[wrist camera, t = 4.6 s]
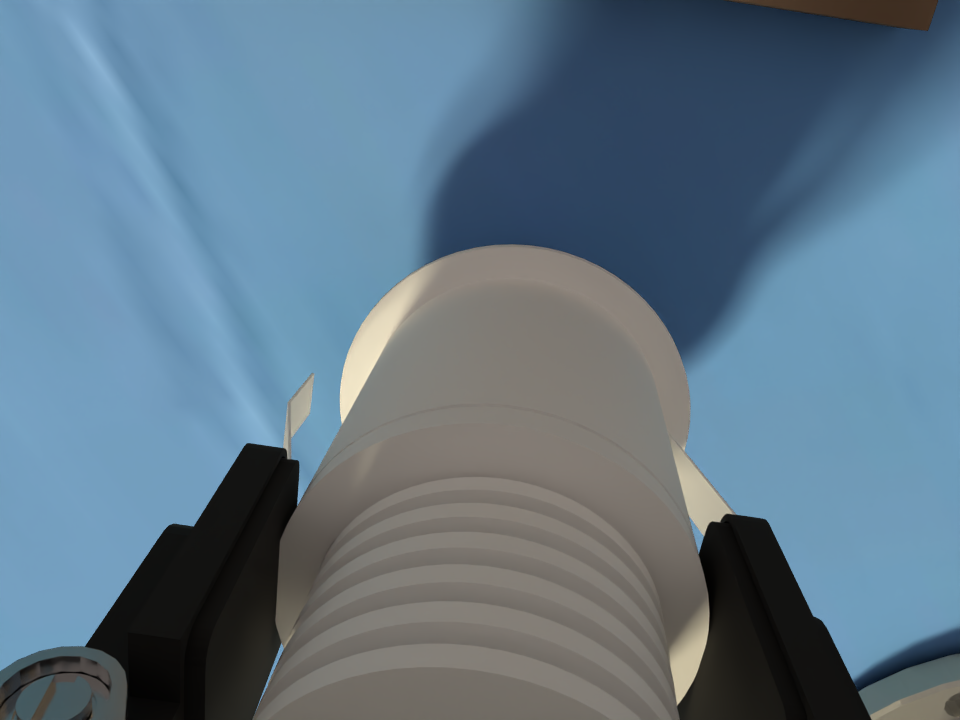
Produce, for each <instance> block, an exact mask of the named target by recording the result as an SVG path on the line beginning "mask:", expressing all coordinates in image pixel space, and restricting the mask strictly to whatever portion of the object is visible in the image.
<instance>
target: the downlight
mask: <svg viewBox="0 0 960 720" xmlns="http://www.w3.org/2000/svg"><path fill="white" fill-rule="evenodd" d="M313 381H314V373H312V374H311V375H310V376H309V377H308V379H307V380H306V381H305V382H304V383H303V385H302V386H301V387H300V388H299V389H298V391H297V392H296V393H295V394H294V395H293V397H292V398H291V399H290V400H289V402H288V406H287V416H286V426H285V435H284V448H285V449H286V450H287V459H291V438H292V437H293V435H294V434H295V433H296V431H297V430H298V429H299V427H300V426H301V425H302V423H303V422H304V421H305V419H306V418H307V417H308V415H309V414H310V407H311V398H312V389H313ZM340 413H341V421H342V426H341V428H340V429H339V431H338V433H337V435H336V437H335V439H334V440H333V442H332V444H331V446H330V448H329V449H328V451H327V453H326V455H325V457H324V459H323V460H322V462H321V464H320V466H319V468H318V470H317V471H316V473H315V475H314V477H313V479H312V481H311V482H310V484H309V486H308V488H307V490H306V491H305V493H304V495H303V497H302V499H301V501H300V503H299V504H298V506H297V508H296V510H295V511H294V513H293V515H292V517H291V518H290V520H289V522H288V524H287V526H286V528H285V530H284V533H283V535H282V537H281V540H280V550H279V567H278V584H277V601H276V618H275V622H276V627H277V630H278V633H279V636H280V640H281V643H282V645H283V647H284V650H283V652H282V655H281V657H280V659H279V661H278V663H277V665H276V668H275V670H274V672H273V674H272V677H271V679H270V681H269V684H268V687H267V689H266V691H265V693H264V695H263V697H262V699H261V702H260V704H259V706H258V708H257V710H256V713H255V715H254V717H253V719H252V720H680V718H679V713H678V709H677V705H678V704H679V703H680V701H681V700H682V699H683V697H684V696H685V694H686V693H687V691H688V689H689V687H690V686H691V684H692V682H693V681H694V678H695V676H696V674H697V671H698V669H699V665H700V662H701V659H702V656H703V653H704V650H705V646H706V643H707V637H708V631H709V600H708V591H707V586H706V581H705V576H704V573H703V569H702V565H701V562H700V558H699V554H698V550H697V546H696V542H695V538H694V534H693V531H692V527H691V523H690V519H689V516H690V518H691V519H692V521H693V522H694V523H695V525H696V526H697V527H698V529H699V530H700V531H701V533H702V534H703V536H704V535H705V532H706V529H707V526H708V525H709V523H710V522H712V521H714V522H720V521H721V519H722V517H723V516H724V515H725V514H734V515H736V514H735V512H734V511H733V510H732V509H731V507H730V506H729V505H728V504H727V503H726V501H725V500H724V499H723V498H722V496H721V495H720V494H719V493H718V491H717V490H716V489H715V488H714V487H713V485H712V484H711V483H710V482H709V480H708V479H707V478H706V477H705V476H704V474H703V473H702V472H701V471H700V469H699V468H698V467H697V466H696V465H695V463H694V462H693V461H692V460H691V458H690V457H689V456H688V455H687V454H686V452H685V451H684V450H685V446H686V442H687V438H688V432H689V425H690V395H689V387H688V382H687V377H686V373H685V369H684V366H683V363H682V360H681V357H680V354H679V352H678V350H677V347H676V345H675V343H674V340H673V339H672V337H671V335H670V333H669V332H668V330H667V328H666V326H665V325H664V323H663V322H662V321H661V319H660V318H659V316H658V315H657V314H656V312H655V311H654V310H653V309H652V308H651V306H650V305H649V304H648V303H647V302H646V301H645V300H644V299H643V298H642V297H641V296H640V295H639V294H638V293H637V292H636V291H635V290H634V289H632V288H631V287H630V286H629V285H627V284H626V283H625V282H623V281H622V280H621V279H619V278H618V277H617V276H615V275H614V274H612V273H610V272H609V271H607V270H605V269H604V268H602V267H600V266H598V265H596V264H594V263H592V262H590V261H587V260H585V259H583V258H580V257H577V256H575V255H572V254H569V253H566V252H562V251H558V250H554V249H550V248H544V247H538V246H531V245H515V244H508V245H491V246H483V247H476V248H472V249H468V250H463V251H459V252H456V253H453V254H450V255H447V256H444V257H442V258H439V259H437V260H435V261H433V262H431V263H428V264H426V265H424V266H423V267H421V268H419V269H418V270H416V271H414V272H413V273H411V274H409V275H408V276H407V277H405V278H404V279H403V280H401V281H400V282H399V283H397V284H396V285H395V286H394V287H393V288H392V289H391V290H390V291H388V292H387V293H386V294H385V295H384V296H383V297H382V298H381V300H380V301H379V302H378V303H377V304H376V305H375V306H374V308H373V309H372V310H371V312H370V313H369V315H368V316H367V317H366V319H365V320H364V322H363V323H362V325H361V327H360V329H359V330H358V332H357V334H356V336H355V338H354V340H353V342H352V345H351V347H350V349H349V352H348V355H347V358H346V362H345V365H344V369H343V374H342V380H341V390H340Z"/></svg>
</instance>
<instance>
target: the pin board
mask: <svg viewBox="0 0 960 720" xmlns="http://www.w3.org/2000/svg"><path fill="white" fill-rule="evenodd" d="M725 1H731V2H738V3H744V4H751V5H757V6H763V7H770V8H776V9H782V10H789V11H795V12H802V13H808V14H814V15H821V16H827V17H834V18H840V19H846V20H853V21H859V22H865V23H872V24H878V25H885V26H891V27H897V28H906V29H915V30H924V31H928V29H929V26H930V24H931V21H932V18H933V15H934V12H935V9H936V6H937V3H938V0H725Z"/></svg>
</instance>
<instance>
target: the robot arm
mask: <svg viewBox="0 0 960 720" xmlns="http://www.w3.org/2000/svg"><path fill="white" fill-rule="evenodd" d="M298 482H299V461H298V460H292V459H287V450H286V449H285V448H278V447H272V446H265V445H258V444H251V443H247V444H246V445H245V446H244V448H243V449H242V451H241V452H240V454H239V456H238V457H237V459H236V460H235V462H234V463H233V465H232V467H231V468H230V470H229V471H228V473H227V475H226V476H225V478H224V479H223V481H222V483H221V484H220V486H219V487H218V489H217V491H216V492H215V494H214V495H213V497H212V498H211V500H210V502H209V503H208V505H207V506H206V508H205V510H204V511H203V513H202V514H201V516H200V518H199V519H198V521H197V522H196V524H195V526H194V527H193V526H186V525H179V524H172V525H169V526H168V527H167V528H166V529H165V530H164V531H163V533H162V534H161V536H160V537H159V539H158V540H157V541H156V543H155V544H154V546H153V547H152V549H151V550H150V552H149V553H148V555H147V556H146V558H145V559H144V561H143V562H142V564H141V565H140V566H139V568H138V569H137V571H136V572H135V574H134V575H133V577H132V578H131V580H130V581H129V583H128V584H127V586H126V587H125V588H124V590H123V591H122V593H121V594H120V596H119V597H118V599H117V600H116V602H115V603H114V605H113V606H112V608H111V609H110V611H109V612H108V613H107V615H106V616H105V618H104V619H103V621H102V622H101V624H100V625H99V627H98V628H97V630H96V631H95V633H94V634H93V635H92V637H91V638H90V640H89V641H88V643H87V644H86V646H85V647H83V646H71V647H57V648H52V649H47V650H42V651H38V652H36V653H33V654H31V655H29V656H26V657H24V658H21V659H19V660H17V661H15V662H14V663H12V664H11V665H9V666H8V667H6V668H5V669H3V670H1V671H0V720H252V719H253V717H254V714H255V711H256V709H257V706H258V703H259V701H260V698H261V695H262V693H263V690H264V687H265V685H266V682H267V679H268V677H269V674H270V671H271V669H272V666H273V664H274V661H275V658H276V656H277V653H278V650H279V648H280V645H281V640H280V636H279V633H278V630H277V627H276V622H275V618H276V601H277V584H278V567H279V550H280V540H281V537H282V535H283V533H284V530H285V528H286V526H287V524H288V522H289V520H290V518H291V517H292V515H293V513H294V511H295V510H296V508H297V497H298ZM699 558H700V562H701V565H702V569H703V573H704V576H705V581H706V586H707V591H708V600H709V631H708V637H707V643H706V646H705V650H704V653H703V656H702V659H701V662H700V665H699V669H698V671H697V674H696V676H695V678H694V681H693V682H692V684H691V686H690V687H689V689H688V691H687V693H686V694H685V696H684V697H683V699H682V700H681V701H680V703H679V704H678V705H677V709H678V713H679V718H680V720H960V654H954V655H949V656H946V657H942V658H939V659H936V660H932V661H929V662H926V663H922V664H919V665H916V666H912V667H909V668H906V669H904V670H902V671H899V672H897V673H895V674H893V675H891V676H888V677H886V678H884V679H882V680H880V681H877V682H875V683H873V684H871V685H869V686H866V687H865V688H863V689H862V690H860V691H859V692H858V691H857V689H856V687H855V685H854V683H853V681H852V679H851V676H850V674H849V672H848V670H847V668H846V666H845V664H844V662H843V660H842V658H841V656H840V654H839V652H838V650H837V648H836V646H835V644H834V642H833V640H832V638H831V636H830V634H829V632H828V630H827V628H826V626H825V625H824V624H823V622H822V621H821V620H820V619H818V618H816V617H813V615H812V613H811V611H810V609H809V606H808V604H807V602H806V600H805V598H804V596H803V594H802V592H801V590H800V588H799V586H798V583H797V581H796V579H795V577H794V575H793V573H792V571H791V569H790V567H789V565H788V563H787V561H786V558H785V556H784V554H783V552H782V550H781V548H780V546H779V544H778V542H777V540H776V538H775V535H774V533H773V531H772V529H771V527H770V525H769V523H768V522H767V520H765V519H761V518H754V517H748V516H741V515H734V514H725V515H724V516H723V517H722V519H721V521H720V522H714V521H712V522H710V523H709V525H708V526H707V529H706V532H705V535H704V539H703V542H702V545H701V549H700V552H699Z"/></svg>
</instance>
